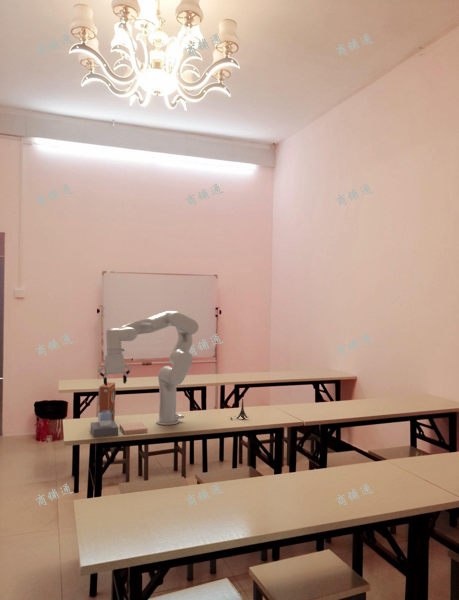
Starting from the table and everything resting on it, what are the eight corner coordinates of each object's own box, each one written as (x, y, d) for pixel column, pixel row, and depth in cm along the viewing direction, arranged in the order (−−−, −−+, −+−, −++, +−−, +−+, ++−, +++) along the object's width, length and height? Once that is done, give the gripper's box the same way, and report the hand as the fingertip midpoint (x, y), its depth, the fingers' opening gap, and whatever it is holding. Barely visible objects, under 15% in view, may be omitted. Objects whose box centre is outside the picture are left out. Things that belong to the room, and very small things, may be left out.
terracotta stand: (141, 425, 256) (141, 422, 256) (147, 432, 243) (147, 428, 243) (119, 427, 251) (119, 423, 251) (124, 434, 238) (124, 430, 238)
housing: (108, 422, 247) (108, 410, 247) (111, 426, 238) (111, 413, 238) (97, 423, 244) (98, 410, 244) (100, 427, 236) (100, 414, 236)
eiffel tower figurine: (252, 416, 282) (253, 394, 282) (256, 421, 272) (257, 398, 272) (228, 417, 279) (228, 395, 279) (231, 421, 269) (231, 398, 269)
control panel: (116, 419, 269) (109, 426, 254) (104, 419, 269) (96, 426, 254) (116, 382, 269) (109, 386, 254) (104, 382, 269) (97, 386, 254)
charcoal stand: (113, 428, 250) (114, 420, 250) (118, 435, 237) (118, 427, 237) (90, 430, 245) (90, 422, 245) (93, 437, 233) (93, 429, 233)
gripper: (129, 349, 252) (130, 381, 253) (96, 352, 245) (97, 384, 246) (132, 351, 245) (133, 383, 246) (98, 353, 239) (99, 387, 239)
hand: (115, 384), depth 246 cm, fingers open, 9 cm apart
